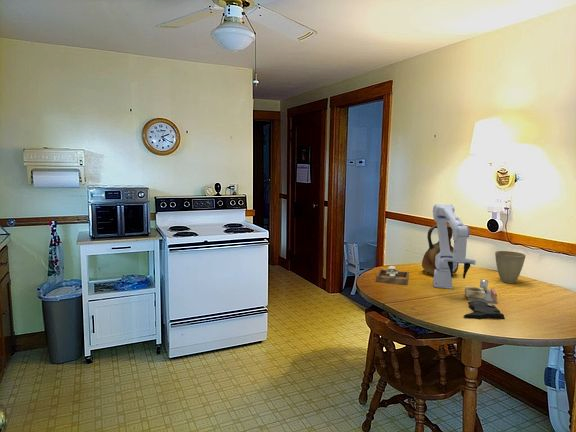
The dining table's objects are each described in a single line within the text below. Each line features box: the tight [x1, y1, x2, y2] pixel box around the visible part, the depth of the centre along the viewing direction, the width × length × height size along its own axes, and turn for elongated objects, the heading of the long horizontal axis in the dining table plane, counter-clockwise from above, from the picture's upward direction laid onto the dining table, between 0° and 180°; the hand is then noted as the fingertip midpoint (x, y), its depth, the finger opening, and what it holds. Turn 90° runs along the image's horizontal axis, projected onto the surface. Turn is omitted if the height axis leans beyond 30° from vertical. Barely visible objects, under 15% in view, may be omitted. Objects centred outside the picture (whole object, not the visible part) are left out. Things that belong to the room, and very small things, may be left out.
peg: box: [479, 278, 489, 293], centre depth 201 cm, size 3×3×6 cm
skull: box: [385, 265, 399, 278], centre depth 224 cm, size 12×10×10 cm
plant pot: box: [494, 250, 526, 284], centre depth 223 cm, size 15×15×16 cm
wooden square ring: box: [464, 285, 485, 299], centre depth 194 cm, size 8×8×3 cm
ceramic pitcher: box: [421, 224, 460, 275], centre depth 236 cm, size 20×20×30 cm
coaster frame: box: [375, 268, 410, 286], centre depth 224 cm, size 16×16×3 cm
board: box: [467, 287, 498, 304], centre depth 197 cm, size 12×18×4 cm, turn 161°
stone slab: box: [463, 301, 506, 320], centre depth 177 cm, size 22×16×5 cm
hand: (457, 277), depth 196 cm, fingers open, 5 cm apart
